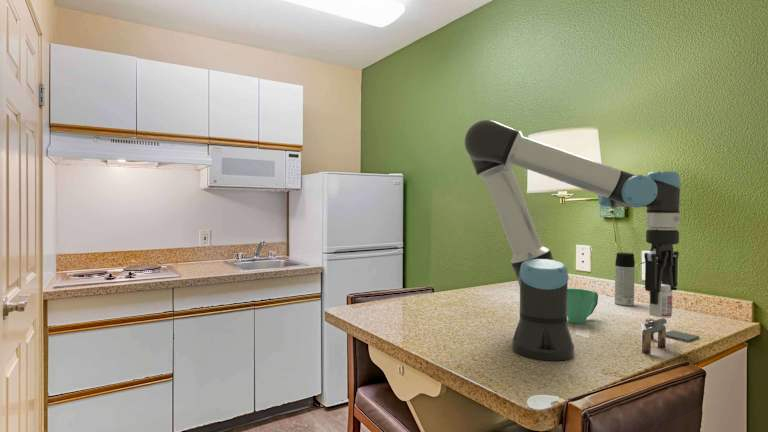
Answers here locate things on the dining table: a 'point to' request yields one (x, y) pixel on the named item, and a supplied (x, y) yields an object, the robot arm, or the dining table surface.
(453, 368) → the dining table surface
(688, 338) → the pad
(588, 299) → the mug
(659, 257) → the robot arm
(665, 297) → the pill bottle
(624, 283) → the spray can
